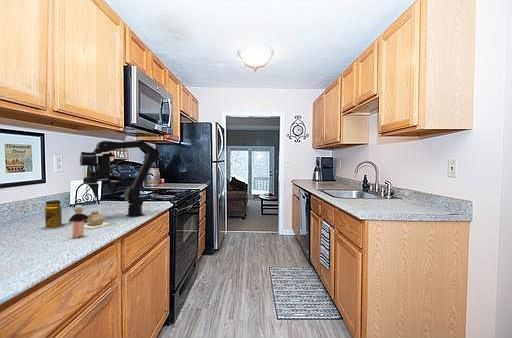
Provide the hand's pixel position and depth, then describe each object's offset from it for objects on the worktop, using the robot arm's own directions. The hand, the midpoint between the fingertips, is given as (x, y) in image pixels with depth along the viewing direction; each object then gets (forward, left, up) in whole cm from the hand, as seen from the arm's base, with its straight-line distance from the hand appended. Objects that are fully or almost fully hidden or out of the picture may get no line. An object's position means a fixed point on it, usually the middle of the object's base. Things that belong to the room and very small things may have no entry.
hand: (104, 196), depth 143 cm
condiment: (+20, -7, -12) cm, 25 cm away
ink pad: (+6, -5, -12) cm, 14 cm away
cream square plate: (+11, +8, -12) cm, 18 cm away
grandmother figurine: (+26, +21, -12) cm, 36 cm away
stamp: (+11, +8, -12) cm, 18 cm away
